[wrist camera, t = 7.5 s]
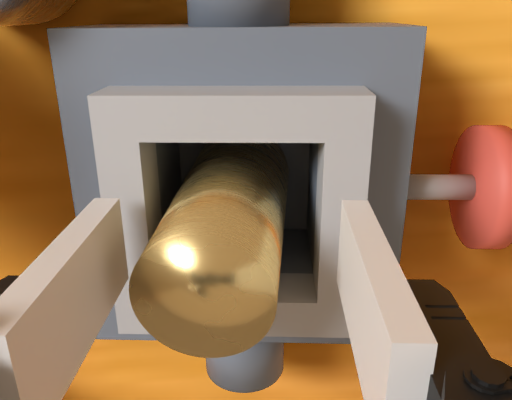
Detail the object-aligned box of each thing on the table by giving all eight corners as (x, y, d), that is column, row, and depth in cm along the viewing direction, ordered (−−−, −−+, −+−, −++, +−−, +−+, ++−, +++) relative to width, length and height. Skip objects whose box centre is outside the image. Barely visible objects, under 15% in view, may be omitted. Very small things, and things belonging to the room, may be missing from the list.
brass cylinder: (200, 212, 22) (138, 354, 14) (193, 127, 20) (118, 233, 12) (288, 214, 22) (277, 361, 14) (289, 128, 20) (276, 237, 12)
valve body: (134, 326, 26) (86, 434, 19) (90, -57, 19) (-7, -93, 12) (441, 331, 25) (499, 444, 18) (504, -62, 18) (630, -102, 12)
